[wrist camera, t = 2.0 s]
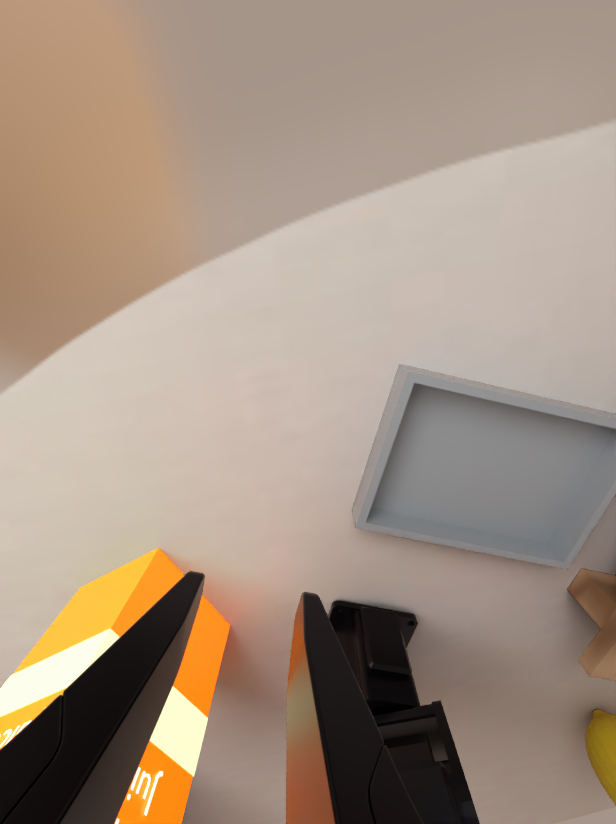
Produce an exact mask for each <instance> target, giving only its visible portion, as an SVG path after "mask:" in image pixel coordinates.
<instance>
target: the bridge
mask: <svg viewBox="0 0 616 824" xmlns="http://www.w3.org/2000/svg"><path fill="white" fill-rule="evenodd" d="M567 590H568V591H569V592H570V593H571V594H572V595H573V597H574V598H575V599H576V600H577V601H578V602H579V604H580V605H581V606H582V607H583V608H584V609H585V611H586V612H587V613H588V614H589V615H590V617H591V618H592V619H593V620H594V621H595V622H596V624H597V625H598V626H599V627H600V628H601V630H600V631H599V632H598V634H597V635H596V636H595V638H594V639H593V640H592V642H591V643H590V644H589V646H588V647H587V648H586V650H585V651H584V653H583V654H582V655H581V657H580V658H579V659H578V661H579V662H580V664H581V665H582V667H583V668H584V669H585V671H586V672H587V674H588V675H589V676H590V677H596V678H602V679H607V680H613V681H616V575H611V574H606V573H601V572H596V571H591V570H586V569H581V570H580V571H579V573H578V574H577V576H576V577H575V579H574V580H573V582H572V583H571V585H570V586H569V588H568V589H567Z"/></svg>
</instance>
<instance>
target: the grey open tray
mask: <svg viewBox="0 0 616 824" xmlns="http://www.w3.org/2000/svg"><path fill="white" fill-rule="evenodd" d="M615 494H616V414H614V413H609V412H605V411H601V410H596V409H592V408H588V407H583V406H579V405H575V404H570V403H566V402H562V401H557V400H553V399H549V398H544V397H540V396H536V395H531V394H527V393H523V392H518V391H514V390H510V389H505V388H501V387H497V386H493V385H488V384H484V383H480V382H475V381H471V380H467V379H462V378H458V377H454V376H449V375H445V374H441V373H436V372H432V371H428V370H423V369H419V368H415V367H410V366H406V365H402V364H399V366H398V369H397V372H396V375H395V378H394V382H393V385H392V388H391V391H390V394H389V397H388V400H387V403H386V406H385V409H384V412H383V415H382V418H381V422H380V425H379V428H378V431H377V434H376V437H375V440H374V443H373V446H372V449H371V452H370V455H369V459H368V462H367V465H366V468H365V471H364V474H363V477H362V480H361V483H360V486H359V489H358V492H357V495H356V499H355V502H354V505H353V508H352V512H353V518H354V523H355V528H358V529H363V530H368V531H373V532H378V533H383V534H388V535H393V536H399V537H404V538H409V539H414V540H419V541H424V542H429V543H434V544H439V545H444V546H449V547H455V548H460V549H465V550H470V551H475V552H480V553H485V554H490V555H495V556H500V557H505V558H511V559H516V560H521V561H526V562H531V563H536V564H541V565H546V566H551V567H556V568H561V569H568V568H569V566H570V565H571V563H572V562H573V560H574V559H575V557H576V555H577V554H578V552H579V551H580V549H581V548H582V546H583V544H584V543H585V541H586V540H587V538H588V537H589V535H590V533H591V532H592V530H593V529H594V527H595V526H596V524H597V522H598V521H599V519H600V518H601V516H602V515H603V513H604V511H605V510H606V508H607V507H608V505H609V504H610V502H611V500H612V499H613V497H614V496H615Z"/></svg>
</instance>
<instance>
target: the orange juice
mask: <svg viewBox="0 0 616 824" xmlns="http://www.w3.org/2000/svg"><path fill="white" fill-rule="evenodd" d="M183 576H184V574H183V573H182V572H181V571H180V570H179V569H178V568H177V567H176V566H175V565H174V564H173V562H172V561H171V560H170V559H169V558H168V557H167V556H166V555H165V554H164V553H163V552H162V550H161V549H160V548H157V549H156V550H154V551H152V552H150V553H148V554H146V555H144V556H142V557H140V558H138V559H136V560H134V561H132V562H130V563H128V564H126V565H124V566H122V567H120V568H118V569H116V570H114V571H113V572H111V573H109V574H107V575H105V576H103V577H101V578H99V579H97V580H95V581H93V582H91V583H89V584H87V585H85V586H83V587H81V588H80V589H79V590H78V592H77V593H76V594H75V596H74V597H73V598H72V599H71V601H70V602H69V603H68V605H67V606H66V607H65V608H64V610H63V611H62V612H61V614H60V615H59V616H58V617H57V619H56V620H55V621H54V622H53V624H52V625H51V626H50V628H49V629H48V630H47V631H46V633H45V634H44V635H43V637H42V638H41V639H40V640H39V642H38V643H37V644H36V646H35V647H34V648H33V649H32V651H31V652H30V653H29V654H28V656H27V657H26V658H25V660H24V661H23V662H22V663H21V665H20V666H19V667H18V669H17V670H16V671H15V672H14V674H13V675H11V676H10V677H9V679H8V680H7V681H6V682H5V684H4V685H3V686H2V688H1V689H0V749H1V748H2V747H3V746H5V745H6V744H7V743H8V742H9V741H10V740H11V739H12V738H14V737H15V736H16V735H17V734H18V733H19V732H20V731H21V730H22V729H23V728H24V727H26V726H27V725H28V724H29V723H30V722H31V721H32V720H33V719H34V718H35V717H36V716H38V715H39V714H40V713H41V712H42V711H43V710H44V709H45V708H46V707H47V706H48V705H49V704H50V703H51V702H52V701H53V700H54V699H55V698H56V697H57V696H59V695H62V696H63V691H64V690H65V689H66V688H67V687H68V686H69V685H70V684H71V683H72V682H73V681H74V680H75V679H77V678H78V677H79V676H80V675H81V674H82V673H83V672H84V671H85V670H86V669H87V668H88V667H89V666H90V665H91V664H92V663H93V662H94V661H95V660H96V659H97V658H99V657H100V656H101V655H102V654H103V653H104V652H105V651H106V650H107V649H108V648H109V647H110V646H111V645H112V644H113V643H114V642H115V641H116V640H117V639H118V638H119V637H120V636H122V635H123V634H124V633H125V632H126V631H127V630H128V629H129V628H130V627H131V626H132V625H133V624H134V623H135V622H136V621H137V620H138V619H139V618H140V617H141V616H142V615H144V614H145V613H146V612H147V611H148V610H149V609H150V608H151V607H152V606H153V605H154V604H155V603H156V602H157V601H158V600H159V599H160V598H161V597H162V596H163V595H164V594H166V593H167V592H168V591H169V590H170V589H171V588H172V587H173V586H174V585H175V584H176V583H177V582H178V581H179V580H180V579H181V578H182V577H183ZM229 628H230V625H229V624H228V622H227V621H226V620H225V619H224V618H223V617H222V616H221V615H220V614H219V613H218V612H217V610H216V609H215V608H214V607H213V606H212V605H211V604H210V603H209V602H208V601H207V600H206V598H205V597H204V596H203V595H202V598H201V602H200V606H199V609H198V612H197V615H196V618H195V622H194V625H193V628H192V631H191V634H190V638H189V641H188V644H187V647H186V650H185V654H184V657H183V660H182V663H181V666H180V669H179V672H178V674H177V677H176V679H175V682H174V684H173V687H172V689H171V691H170V694H169V696H168V698H167V701H166V703H165V705H164V708H163V710H162V713H161V715H160V717H159V720H158V722H157V724H156V727H155V729H154V731H153V734H152V736H151V738H150V741H149V743H148V745H147V748H146V750H145V753H144V755H143V757H142V760H141V762H140V764H139V767H138V769H137V771H136V774H135V776H134V778H133V781H132V783H131V786H130V788H129V790H128V793H127V795H126V797H125V800H124V802H123V804H122V807H121V809H120V811H119V814H118V816H117V818H116V821H115V823H114V824H181V823H182V819H183V815H184V811H185V806H186V802H187V798H188V794H189V790H190V786H191V782H192V778H193V776H194V774H195V770H196V766H197V762H198V758H199V754H200V750H201V746H202V741H203V737H204V733H205V729H206V725H207V721H208V718H207V717H208V713H209V709H210V705H211V701H212V697H213V693H214V689H215V685H216V681H217V677H218V672H219V668H220V664H221V660H222V656H223V652H224V648H225V644H226V640H227V636H228V632H229Z"/></svg>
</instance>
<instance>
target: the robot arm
mask: <svg viewBox="0 0 616 824" xmlns="http://www.w3.org/2000/svg"><path fill="white" fill-rule="evenodd" d="M204 579H205V575H204V574H203V573H199V572H194V571H190V572H188V573H187V574H185V575H184V576H183V577H182V578H181V579H180V580H179V581H178V582H177V583H176V584H175V585H174V586H173V587H172V588H171V589H170V590H169V591H168V592H167V593H166V594H164V595H163V596H162V597H161V598H160V599H159V600H158V601H157V602H156V603H155V604H154V605H153V606H152V607H151V608H150V609H149V610H148V611H147V612H146V613H145V614H144V615H142V616H141V617H140V618H139V619H138V620H137V621H136V622H135V623H134V624H133V625H132V626H131V627H130V628H129V629H128V630H127V631H126V632H125V633H124V634H123V635H122V636H120V637H119V638H118V639H117V640H116V641H115V642H114V643H113V644H112V645H111V646H110V647H109V648H108V649H107V650H106V651H105V652H104V653H103V654H102V655H101V656H100V657H99V658H97V659H96V660H95V661H94V662H93V663H92V664H91V665H90V666H89V667H88V668H87V669H86V670H85V671H84V672H83V673H82V674H81V675H80V676H79V677H78V678H77V679H75V680H74V681H73V682H72V683H71V684H70V685H69V686H68V687H67V688H66V689H65V690H64V691H63V696H62V695H59V696H57V697H56V698H55V699H54V700H53V701H52V702H51V703H50V704H49V705H48V706H47V707H46V708H45V709H44V710H43V711H42V712H41V713H40V714H39V715H38V716H36V717H35V718H34V719H33V720H32V721H31V722H30V723H29V724H28V725H27V726H26V727H24V728H23V729H22V730H21V731H20V732H19V733H18V734H17V735H16V736H15V737H14V738H12V739H11V740H10V741H9V742H8V743H7V744H6V745H5V746H3V747H2V748H1V749H0V824H114V823H115V821H116V818H117V816H118V814H119V811H120V809H121V807H122V804H123V802H124V800H125V797H126V795H127V793H128V790H129V788H130V786H131V783H132V781H133V778H134V776H135V774H136V771H137V769H138V767H139V764H140V762H141V760H142V757H143V755H144V753H145V750H146V748H147V745H148V743H149V741H150V738H151V736H152V734H153V731H154V729H155V727H156V724H157V722H158V720H159V717H160V715H161V713H162V710H163V708H164V705H165V703H166V701H167V698H168V696H169V694H170V691H171V689H172V687H173V684H174V682H175V679H176V677H177V674H178V672H179V669H180V666H181V663H182V660H183V657H184V654H185V650H186V647H187V644H188V641H189V638H190V634H191V631H192V628H193V625H194V622H195V618H196V615H197V612H198V609H199V606H200V602H201V598H202V592H203V585H204ZM417 624H418V622H417V619H416V616H415V615H414V614H410V613H405V612H399V611H394V610H388V609H383V608H378V607H372V606H367V605H361V604H356V603H350V602H345V601H335V602H333V604H332V606H331V609H330V612H329V614H328V616H327V613H326V611H325V609H324V607H323V604H322V602H321V600H320V598H319V596H318V595H317V594H314V593H308V592H304V593H302V595H301V599H300V602H299V605H298V609H297V612H296V616H295V622H294V631H293V640H292V649H291V659H290V668H289V677H288V690H287V771H286V824H480V823H479V820H478V817H477V814H476V810H475V807H474V804H473V801H472V798H471V794H470V791H469V788H468V785H467V782H466V779H465V775H464V772H463V769H462V766H461V763H460V760H459V757H458V754H457V750H456V747H455V744H454V741H453V738H452V735H451V732H450V729H449V725H448V722H447V719H446V716H445V713H444V710H443V707H442V704H441V701H435V702H432V704H430V705H424V706H420V702H419V698H418V695H417V691H416V687H415V683H414V679H413V675H412V669H411V665H410V662H409V658H408V654H407V650H406V647H407V645H408V643H409V641H410V639H411V637H412V635H413V633H414V631H415V629H416V626H417Z"/></svg>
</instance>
